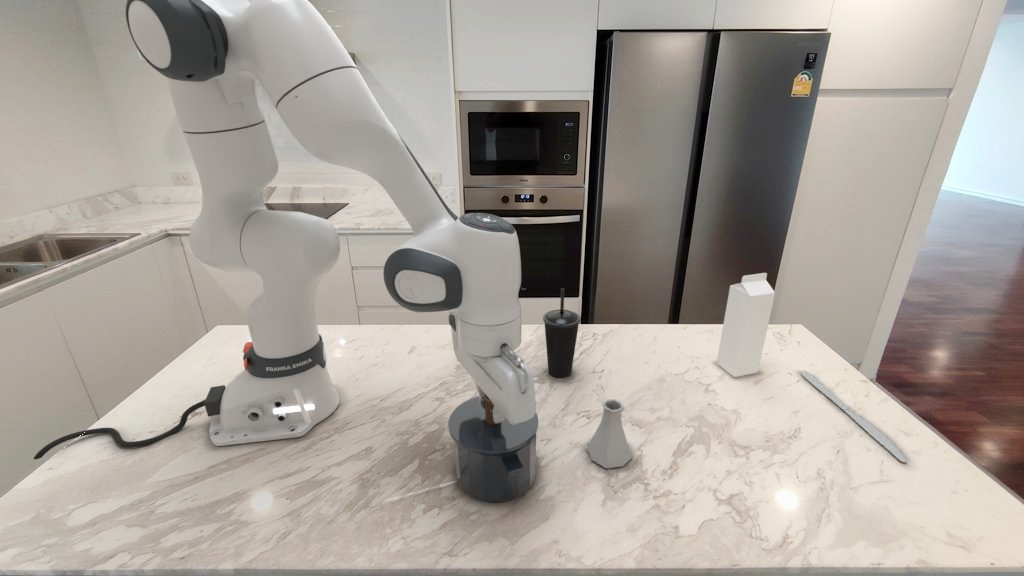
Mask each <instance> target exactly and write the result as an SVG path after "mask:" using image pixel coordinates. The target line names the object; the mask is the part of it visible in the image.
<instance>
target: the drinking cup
mask: <svg viewBox="0 0 1024 576" xmlns="http://www.w3.org/2000/svg"><path fill="white" fill-rule="evenodd" d="M559 307H560V309H553V310H549V311H547V312H546V313H544V314H543V316H542V322H544V333H545V346H546V358H547V359H546V360H547V371H548V374H549V376H550V377H552V378H554V379H559V380H560V379H567V378H569V377H570V376H571V375H572V372H573V371H572V370H573V366H574V365H573V364H574V357H575V352H576V344H577V338H578V331H579V326H580V325H579V324H580V323H581V320H582V319H581V316H580V315H579V314H578V313H577V312H576V311H571V310H568V309H565V288H563V287H561V288H560V305H559Z"/></svg>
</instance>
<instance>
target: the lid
mask: <svg viewBox="0 0 1024 576" xmlns="http://www.w3.org/2000/svg"><path fill="white" fill-rule="evenodd" d="M491 408H494V405H493V404H492V401H491V400H490V399H489V398H488V397H487V395H486V394H485V409H484V408H483V407H482V406H481V405H480V401H479V395H478V396H475V397H472V398H470V399H467V400H465V401H463V402H462V403H461V404H459V405H457V407H456V408H454V409H453V411H452V412H451V414H450V416H449V418H448V425H447V427H448V433H449V436H450V437H451V439H452V440H453V442H454V441H455V442H456V443H457V444H458V445H459V446H461V447H462V448H464V449H466V450H469V451H471V452H475V453H479V454H488V455H496V454H504V453H508V452H512V451H515V450H517V449H519V448H521V447H523V446H525V445H526V444H527V443H529V442H530V441H531V440H532V439H533V437H534V436H535V434H536V435H537V432H538V429H539V417H538V414H537V412H536V413H535V415H534V417H533V418H531V419H529V420H527V421H524V422H522V423H518V424H515V425H511V424H510V423H509V422H508V421H507V420H506V418H505V420H504V421H503V422H500V423H497V424H496V423H495V422H494V421H493V420H492V418H491V417H490V415H491V414H490V409H491Z"/></svg>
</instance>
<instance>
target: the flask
mask: <svg viewBox="0 0 1024 576" xmlns="http://www.w3.org/2000/svg"><path fill="white" fill-rule="evenodd" d="M601 406H602V407H603V414H602V417H601V421H600V423H599V425H598V426H597V428H596V431H595V432H594V434H593V435H592V437H591V438H590V440H589V442H588V444H587V446H586V451H587V453H588V455H589V457H590V460H591V461H593V462H595V463H596V464H598V465H599V466H602V467H603V468H604V469H613V468H621V467H624V466H625V465H626V464H627V463H628V462H629V461H631V460H632V458H633V454H632V451H631V449H630V445H629V443H628V439H627V437H626V433H625V431H624V427H623V422H622V411H623V410H624V408H625V406H624V404H623V403H622V401H620V400H618V399H615V398H607V399H605V400H604V401H603V402H602V403H601Z"/></svg>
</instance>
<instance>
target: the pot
mask: <svg viewBox="0 0 1024 576" xmlns="http://www.w3.org/2000/svg"><path fill="white" fill-rule="evenodd" d="M453 443H454V444H453V446H454V458H455V472H456V473H455V474H456V477H457V482H458V484H459V486H460V488H461V489H462V491H464V493H465V494H466V495H468V496H470V497H471V498H473V499H475V500H477V501H480V502H485V503H488V504H489V503H492V504H498V503H499V504H500V503H507V502H511V501H514V500H516V499H518V498H519V497H522V496H523V495H524V494H526V493H527V492H528V490H530V488H531V487H532V485H533V484H534V482H535V479H536V475H537V433H536V434H535V436H534V437H533V439H532V440H531V441H530V442H529V443H527V444H526V445H525V446H523V447H521V448H519V449H517V450H515V451H512V452H508V453H504V454H496V455H488V454H479V453H475V452H471V451H469V450H466V449H464V448H462V447H461V446H459V445H458V444H457V443H456V442H455V441H454V440H453Z"/></svg>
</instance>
